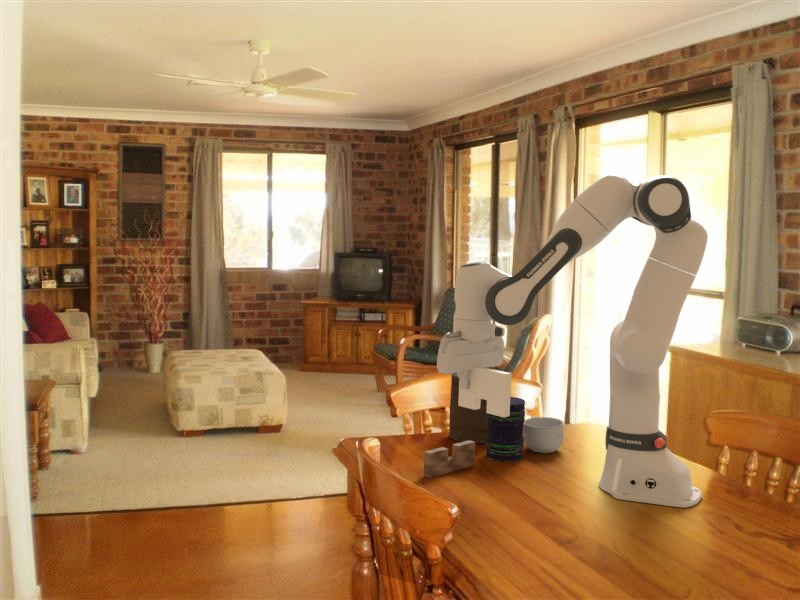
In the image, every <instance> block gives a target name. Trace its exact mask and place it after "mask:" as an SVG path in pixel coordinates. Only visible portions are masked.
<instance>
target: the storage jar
mask: <svg viewBox="0 0 800 600" xmlns="http://www.w3.org/2000/svg"><path fill="white" fill-rule="evenodd" d="M525 405H526V400H524V399H523V398H519V397H513V396H510V414H509V416H508V417H500V416H496V415H492V414H489V413H487V421H488V434H487V435H486V444H485V447H486V448H485V450H486V453H485V457H486V456H487V457H488V458H490V459H489V460H491V459H493V460H492V461H494V460H497V461H496V462H499V461H516V462H518V461H517V460H520V461H522V460H523V459H522V458H524V449H525V441H524V430H523V423H524V421H525V420H526V419H525V416H526V407H525ZM487 457H486V458H487ZM488 458H487V459H488ZM521 459H522V460H521Z"/></svg>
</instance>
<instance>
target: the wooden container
mask: <svg viewBox="0 0 800 600" xmlns="http://www.w3.org/2000/svg"><path fill="white" fill-rule="evenodd" d="M450 378H451V385H450V402H449V428H448V429H449V438H451V439H452V440H453V441H456V442H459V441H461V442H464V441H468V440H470V441H474V442H475V445H476V444H477V445H482V444H481V443H486V435H487V434H488V421H487V413H486V410H487V400H484V399H481V403H480V409H476V410H473V409H469V408H465V407H462V406H458V401H459V378H458V375H457V372H456V373H451V377H450ZM478 443H479V444H478Z"/></svg>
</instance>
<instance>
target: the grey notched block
mask: <svg viewBox="0 0 800 600" xmlns="http://www.w3.org/2000/svg"><path fill="white" fill-rule="evenodd" d="M451 448H452V450H451V456H449V448H447V447H443V446H440V447H437V448H433V449H430V450H429V449H428V450H425V451H424V453H423V477H424V478H425V477H426V478H427V479H428V478H430V479H431V478H432V479H433V478H434V477H439V476H441V475H442V476H443V475H445V474H448V473H452V472H453V473H454V472H457V471H459V469H460V470H463V469H466V467H467V468H470V467H473V466H472V465H474V466H475V464H476V463H475V461H476V458H475V457H476V444H475V442H474V441H470V440H468V441H464V442H457V443H453V444H452V446H451ZM469 466H470V467H469ZM462 468H463V469H462Z"/></svg>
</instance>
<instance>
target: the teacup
mask: <svg viewBox="0 0 800 600" xmlns="http://www.w3.org/2000/svg"><path fill="white" fill-rule="evenodd" d="M564 424H565V421H563V420H562V419H559V418H555V417H548V416H546V417H545V416H539V417H538V416H537V415H536V416H535V415H533V416H531V417H530V418H526V419H525V421H524V423H523V437H524V445H526V447H527V448H529V450H531V451H532V452H534V453H537V452H539V454H550V453H554V452H556V451H557V450H558V449H559V448H560V447H561V446H562V445H563V442H564Z"/></svg>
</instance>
